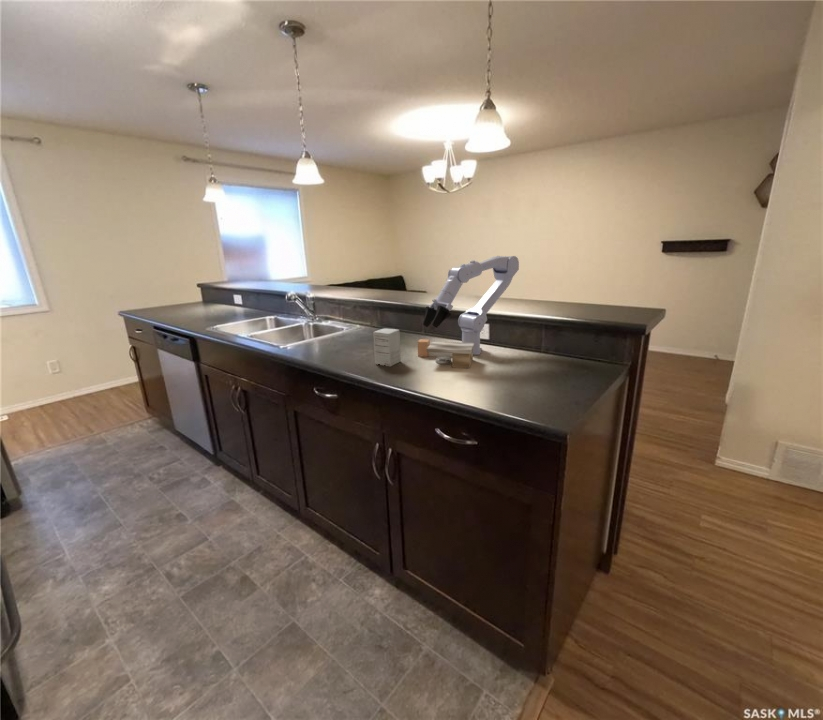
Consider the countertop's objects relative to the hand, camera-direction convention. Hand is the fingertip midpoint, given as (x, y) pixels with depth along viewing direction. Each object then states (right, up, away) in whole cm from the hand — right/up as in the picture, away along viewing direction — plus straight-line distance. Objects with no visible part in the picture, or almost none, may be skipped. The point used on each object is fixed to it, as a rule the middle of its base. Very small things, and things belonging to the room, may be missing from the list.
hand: (429, 326), depth 143 cm
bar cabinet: (+8, -14, +2) cm, 16 cm away
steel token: (+5, -14, +4) cm, 15 cm away
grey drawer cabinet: (-16, -14, +4) cm, 21 cm away
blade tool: (+3, -11, +12) cm, 17 cm away
